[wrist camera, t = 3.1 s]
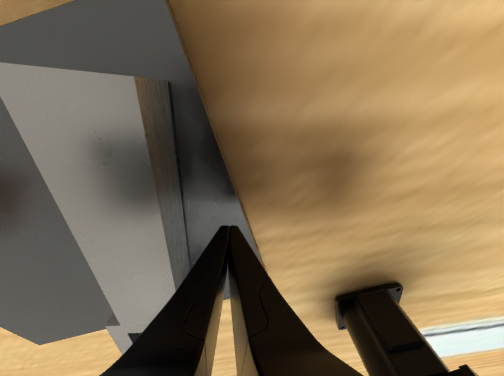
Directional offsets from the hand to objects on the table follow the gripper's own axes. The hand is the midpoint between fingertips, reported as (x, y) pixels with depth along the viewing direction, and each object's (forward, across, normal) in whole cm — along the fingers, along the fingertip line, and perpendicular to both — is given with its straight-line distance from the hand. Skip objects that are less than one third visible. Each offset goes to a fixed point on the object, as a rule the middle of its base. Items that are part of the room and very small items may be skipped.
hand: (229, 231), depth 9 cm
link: (+2, +4, +3) cm, 6 cm away
